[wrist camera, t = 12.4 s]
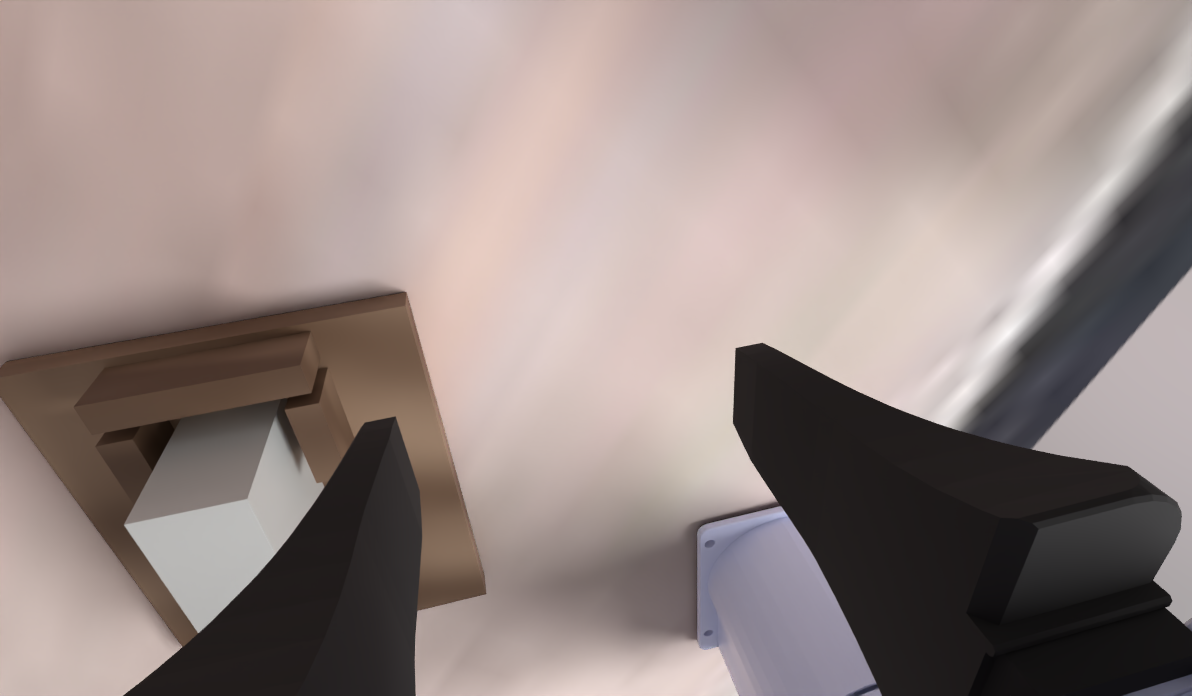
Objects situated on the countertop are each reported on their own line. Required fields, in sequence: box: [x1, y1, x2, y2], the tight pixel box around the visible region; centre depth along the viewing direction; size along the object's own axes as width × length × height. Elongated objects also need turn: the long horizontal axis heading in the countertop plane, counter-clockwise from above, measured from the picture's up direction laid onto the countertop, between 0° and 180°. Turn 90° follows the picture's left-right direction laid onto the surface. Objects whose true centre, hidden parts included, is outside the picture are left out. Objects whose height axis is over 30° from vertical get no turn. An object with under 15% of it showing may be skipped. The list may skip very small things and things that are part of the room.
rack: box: [0, 292, 486, 647], centre depth 23 cm, size 14×12×3 cm
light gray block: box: [124, 398, 324, 633], centre depth 21 cm, size 10×3×5 cm, turn 5°
